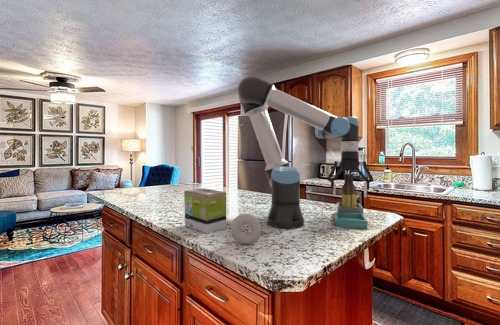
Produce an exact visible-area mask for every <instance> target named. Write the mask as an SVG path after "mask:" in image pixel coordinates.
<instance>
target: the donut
mask: <svg viewBox="0 0 500 325" xmlns="http://www.w3.org/2000/svg"><path fill="white" fill-rule="evenodd" d="M244 225H248V226H249V227H250V232H248V233H245V232H243V231H242V227H243V226H244ZM230 226H231V227H230V231H231V235H232V237H233V239H234V240H235V241H236V242H237V243H240V244H241V245H251V244H254V243H255V242H256V241H257V240H259V238H260V237H261V234H262V229H263V228H262V224H261V222H260V220H259V219H258V218H257V217H256V216H255V215H253V214H250V213H242V214H239V215H238V216H236V217H235V218H234V219H233V221H232V223H231V224H230Z"/></svg>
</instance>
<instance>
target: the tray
mask: <svg viewBox="0 0 500 325" xmlns="http://www.w3.org/2000/svg"><path fill="white" fill-rule="evenodd" d="M334 222H335V227H338V228H353V229H367V230H368V225H369V224H368V220H367V218H366V217H365V215H364V213H363V214H358V213H340V212H337V211H335V212H334Z"/></svg>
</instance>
